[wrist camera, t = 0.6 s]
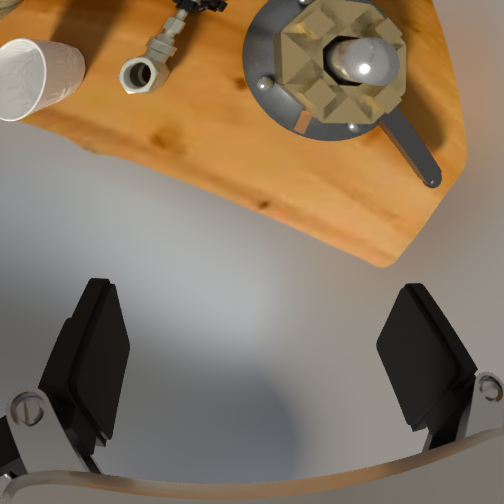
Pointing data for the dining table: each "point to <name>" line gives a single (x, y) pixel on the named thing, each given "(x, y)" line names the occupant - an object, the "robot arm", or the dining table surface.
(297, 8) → the cap plate
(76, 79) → the white cup
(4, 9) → the cantaloupe
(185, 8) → the valve
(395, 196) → the dining table surface
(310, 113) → the castle nut fixture
